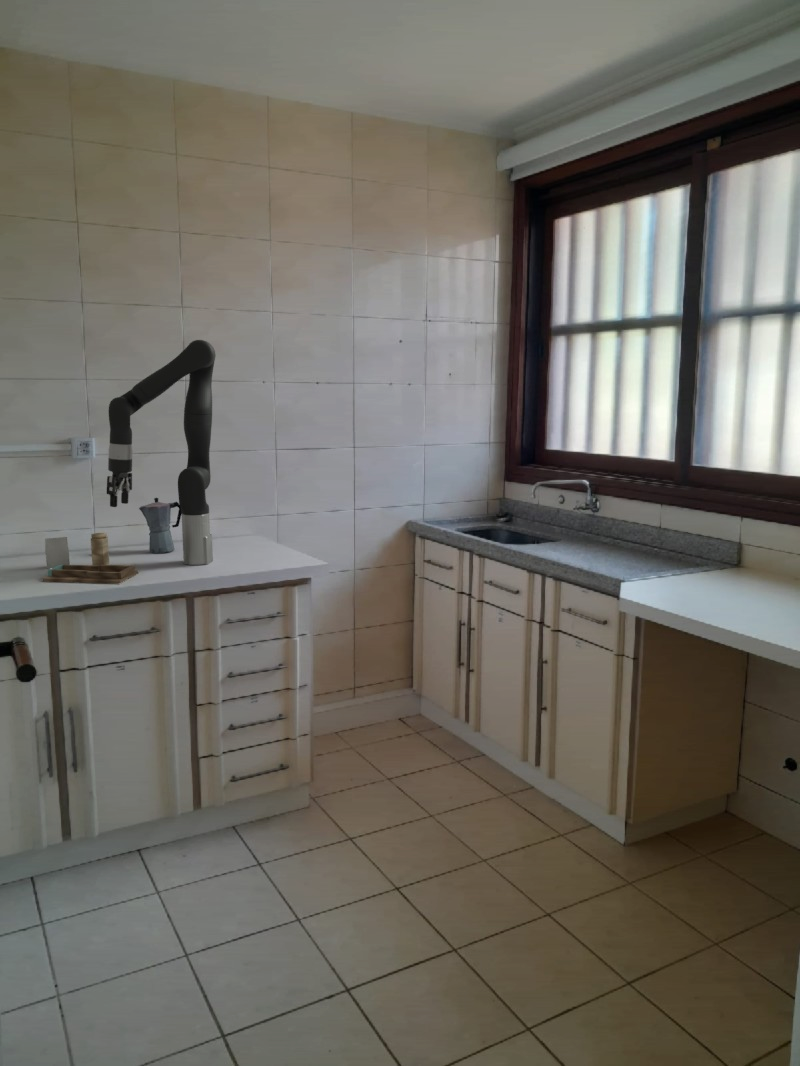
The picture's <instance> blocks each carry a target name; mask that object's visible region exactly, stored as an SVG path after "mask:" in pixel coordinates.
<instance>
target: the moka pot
mask: <svg viewBox="0 0 800 1066" xmlns="http://www.w3.org/2000/svg"><path fill="white" fill-rule="evenodd" d="M153 500H154V502H152V503H148V504H145V505H141V506H140V507H138V510H139V511H140V512H141V513H142V515H143V516H144V518H145V521H146V524H147V527H148V528H149V529H148V531H149V533H148V535H149V548H148V549H149V553H151V554H164V553H171V552H173V551H174V550H175V544H174V540H173V536H172V533H171V527H172V528H177V527H179V526H180V522H181V519H182V512H181V507H180V504H179V501H175V502H168V503H165V502H160V501H159V498H158V497H153ZM175 508H178V513H177V518H176V522H175V524H172V525H171V510H172V509H175Z"/></svg>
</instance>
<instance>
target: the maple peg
mask: <svg viewBox="0 0 800 1066" xmlns="http://www.w3.org/2000/svg"><path fill="white" fill-rule="evenodd" d="M90 547H91V548H90V549H91V562H92V565H98V566H100V565H110V558H109V557H110V555H109V554H110V553H109V541H108V535H107V533H106V532H95V533H91V537H90Z"/></svg>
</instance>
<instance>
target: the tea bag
mask: <svg viewBox="0 0 800 1066" xmlns="http://www.w3.org/2000/svg"><path fill="white" fill-rule="evenodd" d="M44 541H45V542H44V543H45V545H44V546H45V548H44V549H45V562H46V568H47V569H48V570H49V568H54V567H56V566H58V565H71V564H70V553H69V552H70V549H69V543H68V542H69V541H68V537H67V536H63V537H62V536H61V537H52V538H51V537H49V538H45V539H44Z"/></svg>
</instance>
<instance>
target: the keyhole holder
mask: <svg viewBox="0 0 800 1066" xmlns="http://www.w3.org/2000/svg"><path fill="white" fill-rule="evenodd" d="M139 572H140V571H139V570H138V569H137V570H136V565H127V564H125V565H121V564H109V565H100V566H98V565H91V564H89V565H88V564H86V565H85V564H70V565H58V566H56V567H54V568H52V569H48V570H47V576H44V577H43V578H42V582H43V581H49V582H48V583H73V582H79V583H78V584H81V583H82V584H107V583H121V582H123V581H124V582H126V581H127V580H126V579H128V578H130V577H131V578H133V577H134V575H135V576H137V575H138V574H139ZM136 574H137V575H136ZM132 576H133V577H132ZM131 578H130V579H131ZM125 580H126V581H125ZM128 580H129V579H128ZM124 582H123V583H124ZM121 584H122V583H121Z"/></svg>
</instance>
